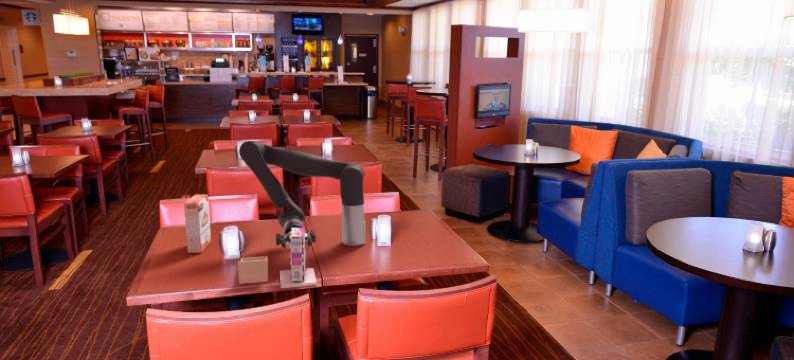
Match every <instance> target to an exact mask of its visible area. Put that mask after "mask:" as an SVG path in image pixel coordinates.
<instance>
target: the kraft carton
mask: <svg viewBox="0 0 794 360" xmlns="http://www.w3.org/2000/svg"><path fill="white" fill-rule="evenodd" d="M237 269H238V283H239V284H238V285H242V284H243V285H244V284H245V283H246V284H257V283H265V282H266V283H268V282H269V260H268V256H266V255H265V256H254V257H253V256H252V257H250V256H249V257H241V258H240V261H237Z"/></svg>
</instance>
